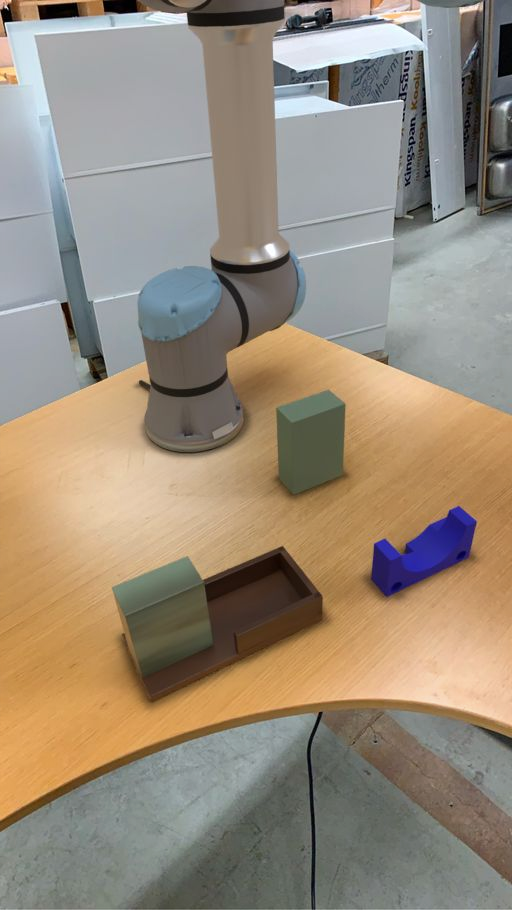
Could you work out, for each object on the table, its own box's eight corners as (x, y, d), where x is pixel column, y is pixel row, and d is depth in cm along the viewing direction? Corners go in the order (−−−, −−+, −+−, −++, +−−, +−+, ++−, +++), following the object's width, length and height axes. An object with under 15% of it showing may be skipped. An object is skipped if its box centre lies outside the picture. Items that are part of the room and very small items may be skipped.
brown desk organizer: (123, 639, 71) (103, 571, 64) (283, 568, 78) (281, 500, 71) (151, 702, 65) (132, 634, 58) (322, 619, 72) (323, 550, 65)
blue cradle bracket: (443, 534, 81) (450, 498, 77) (468, 557, 78) (476, 521, 74) (363, 570, 77) (366, 534, 73) (386, 597, 74) (390, 560, 70)
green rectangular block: (278, 478, 91) (275, 407, 84) (327, 460, 94) (328, 389, 86) (293, 495, 88) (291, 422, 81) (342, 475, 91) (345, 403, 83)
